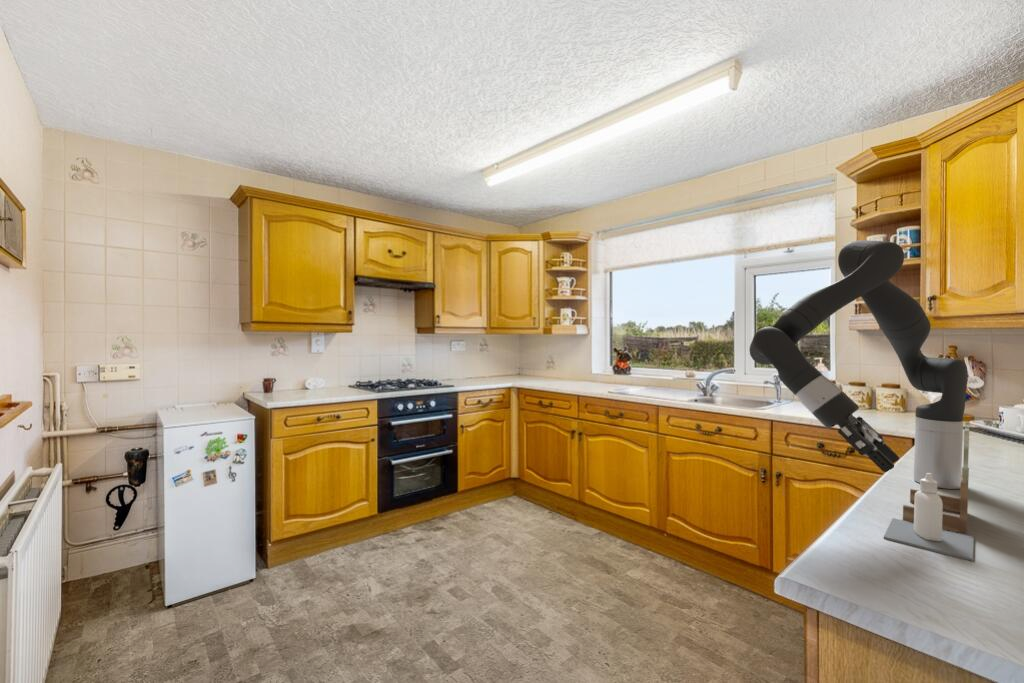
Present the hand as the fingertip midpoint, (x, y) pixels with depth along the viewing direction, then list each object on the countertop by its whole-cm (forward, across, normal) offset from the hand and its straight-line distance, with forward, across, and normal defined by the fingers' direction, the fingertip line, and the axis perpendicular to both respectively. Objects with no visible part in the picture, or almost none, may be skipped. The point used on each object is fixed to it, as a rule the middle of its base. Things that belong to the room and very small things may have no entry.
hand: (892, 465), depth 92 cm
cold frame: (+13, +16, +5) cm, 21 cm away
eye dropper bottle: (+13, 0, +5) cm, 14 cm away
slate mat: (+13, 0, +5) cm, 14 cm away
